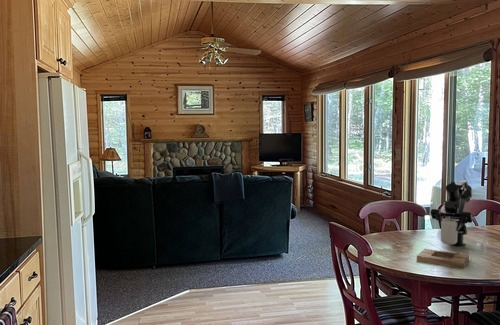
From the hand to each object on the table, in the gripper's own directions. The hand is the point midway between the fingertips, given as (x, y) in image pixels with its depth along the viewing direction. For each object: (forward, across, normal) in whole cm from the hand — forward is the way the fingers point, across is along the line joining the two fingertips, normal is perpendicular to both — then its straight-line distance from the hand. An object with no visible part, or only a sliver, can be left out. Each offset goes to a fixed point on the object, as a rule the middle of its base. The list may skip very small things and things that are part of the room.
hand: (448, 229), depth 208 cm
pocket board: (+17, 0, +1) cm, 17 cm away
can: (+4, 0, +6) cm, 7 cm away
